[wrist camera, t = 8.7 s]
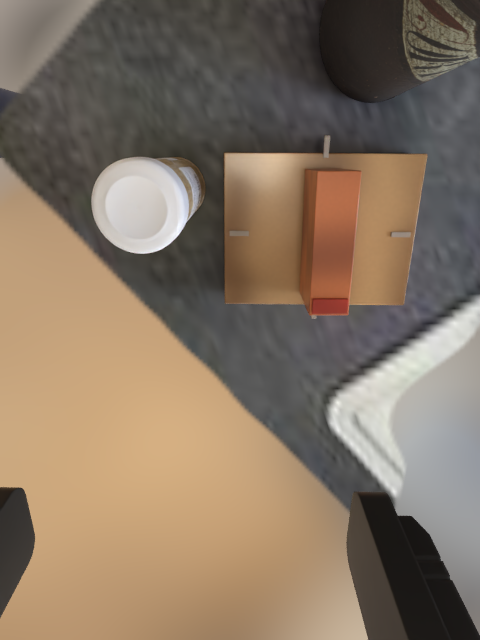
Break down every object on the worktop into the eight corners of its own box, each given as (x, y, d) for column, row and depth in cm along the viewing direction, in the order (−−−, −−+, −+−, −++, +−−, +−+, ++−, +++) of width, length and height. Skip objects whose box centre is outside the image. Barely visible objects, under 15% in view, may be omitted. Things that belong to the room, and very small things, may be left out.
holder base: (226, 304, 36) (224, 317, 33) (225, 136, 31) (223, 134, 28) (389, 305, 36) (402, 319, 33) (413, 138, 31) (431, 136, 28)
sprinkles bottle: (156, 148, 31) (99, 142, 19) (214, 168, 32) (196, 176, 19) (141, 207, 33) (80, 238, 20) (197, 226, 34) (170, 268, 21)
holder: (305, 168, 29) (318, 171, 24) (342, 168, 29) (363, 170, 24) (299, 292, 32) (309, 316, 27) (333, 292, 32) (349, 316, 27)
